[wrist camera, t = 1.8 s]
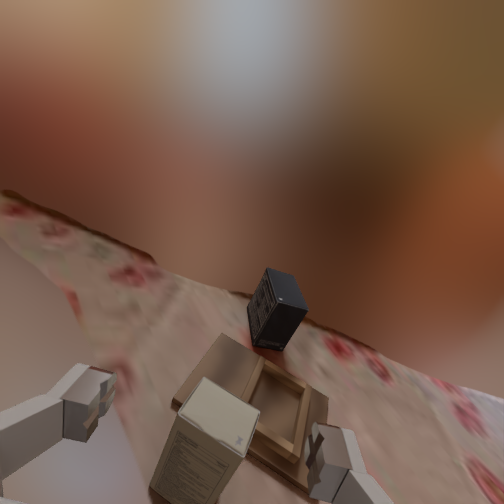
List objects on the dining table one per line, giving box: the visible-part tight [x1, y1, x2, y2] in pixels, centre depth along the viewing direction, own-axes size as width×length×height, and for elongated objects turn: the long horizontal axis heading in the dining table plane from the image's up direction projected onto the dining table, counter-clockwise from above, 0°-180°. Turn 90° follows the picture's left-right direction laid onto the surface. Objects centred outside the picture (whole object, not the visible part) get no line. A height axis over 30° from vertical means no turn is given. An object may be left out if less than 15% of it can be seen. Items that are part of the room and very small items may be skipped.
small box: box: [247, 268, 309, 351], centre depth 50 cm, size 11×6×10 cm, turn 7°
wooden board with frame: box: [172, 333, 329, 494], centre depth 38 cm, size 20×14×2 cm
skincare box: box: [150, 377, 260, 504], centre depth 25 cm, size 6×4×12 cm
